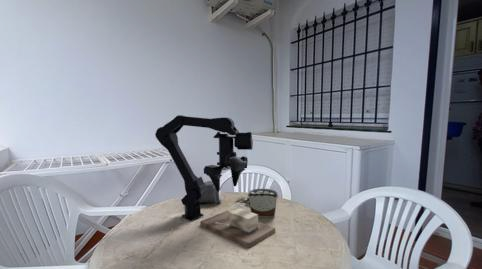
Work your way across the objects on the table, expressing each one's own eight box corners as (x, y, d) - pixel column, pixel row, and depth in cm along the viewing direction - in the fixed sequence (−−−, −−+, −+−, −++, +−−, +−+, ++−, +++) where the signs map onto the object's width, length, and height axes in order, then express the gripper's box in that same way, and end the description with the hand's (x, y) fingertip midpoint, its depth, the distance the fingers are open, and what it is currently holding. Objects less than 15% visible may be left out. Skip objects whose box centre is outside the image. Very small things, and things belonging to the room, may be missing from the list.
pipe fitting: (222, 198, 118) (219, 178, 117) (221, 205, 110) (218, 184, 109) (198, 201, 119) (195, 181, 117) (195, 208, 111) (192, 187, 109)
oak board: (200, 225, 90) (200, 221, 89) (227, 214, 100) (227, 210, 100) (249, 248, 73) (249, 243, 73) (275, 232, 84) (275, 227, 84)
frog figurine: (266, 204, 112) (266, 196, 112) (246, 210, 105) (246, 202, 105) (250, 198, 121) (250, 190, 121) (231, 203, 114) (231, 195, 114)
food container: (277, 211, 102) (277, 188, 102) (278, 217, 96) (278, 192, 96) (248, 210, 103) (248, 187, 103) (247, 216, 97) (247, 192, 97)
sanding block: (229, 225, 85) (229, 212, 85) (239, 221, 89) (239, 208, 89) (248, 233, 79) (248, 219, 79) (258, 228, 83) (258, 214, 83)
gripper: (223, 154, 82) (223, 199, 83) (257, 148, 95) (257, 187, 96) (202, 151, 89) (203, 192, 90) (236, 146, 103) (237, 182, 104)
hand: (226, 188), depth 95 cm, fingers open, 9 cm apart
